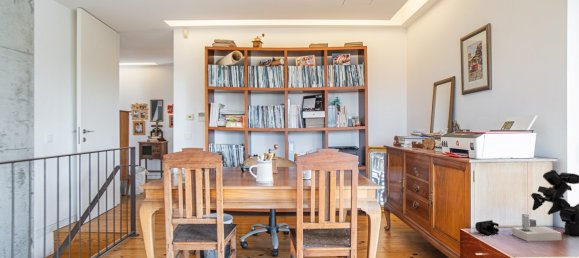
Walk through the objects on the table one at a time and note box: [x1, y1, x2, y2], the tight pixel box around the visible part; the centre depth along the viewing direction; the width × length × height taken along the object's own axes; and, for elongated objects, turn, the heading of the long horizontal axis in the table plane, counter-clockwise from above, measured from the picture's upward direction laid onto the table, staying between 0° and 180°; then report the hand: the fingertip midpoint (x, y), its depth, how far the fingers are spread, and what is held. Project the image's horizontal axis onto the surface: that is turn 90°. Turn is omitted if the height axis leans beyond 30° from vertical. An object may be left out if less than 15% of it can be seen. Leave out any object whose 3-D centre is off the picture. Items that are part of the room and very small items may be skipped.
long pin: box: [521, 213, 530, 232], centre depth 168 cm, size 3×3×12 cm
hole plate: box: [511, 226, 563, 242], centre depth 168 cm, size 18×11×4 cm, turn 89°
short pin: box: [529, 218, 537, 227], centre depth 177 cm, size 3×3×7 cm
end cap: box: [474, 219, 500, 237], centre depth 177 cm, size 10×7×7 cm
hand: (540, 212), depth 169 cm, fingers open, 9 cm apart
